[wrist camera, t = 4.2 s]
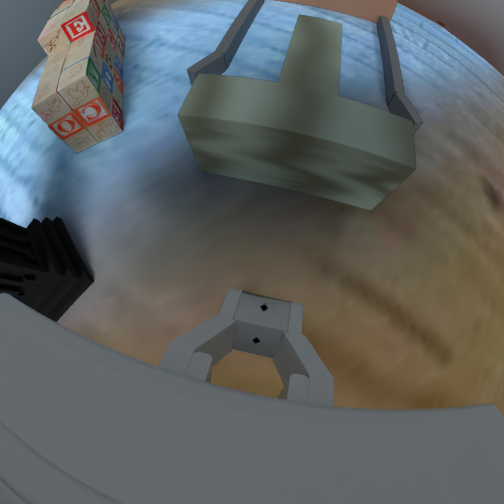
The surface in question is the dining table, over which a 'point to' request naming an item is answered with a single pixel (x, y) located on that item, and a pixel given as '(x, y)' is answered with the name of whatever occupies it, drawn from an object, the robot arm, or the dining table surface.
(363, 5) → the bay
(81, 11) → the stack of blocks
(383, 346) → the dining table surface
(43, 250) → the chess piece
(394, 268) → the dining table surface
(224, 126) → the T block
